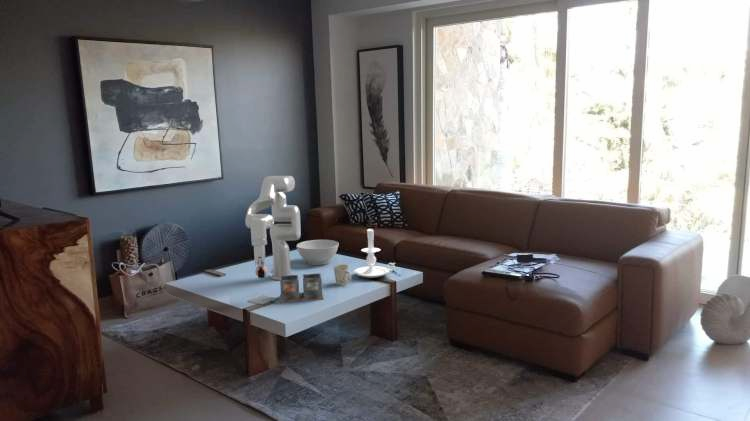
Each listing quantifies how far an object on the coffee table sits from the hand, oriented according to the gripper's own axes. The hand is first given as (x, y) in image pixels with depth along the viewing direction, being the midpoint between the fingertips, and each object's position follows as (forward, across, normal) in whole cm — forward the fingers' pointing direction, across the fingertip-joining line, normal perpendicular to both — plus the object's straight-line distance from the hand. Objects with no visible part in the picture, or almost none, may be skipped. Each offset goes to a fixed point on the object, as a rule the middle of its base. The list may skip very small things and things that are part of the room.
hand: (261, 275), depth 302 cm
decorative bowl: (+15, -70, +32) cm, 78 cm away
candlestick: (+14, -30, +63) cm, 71 cm away
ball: (-2, 0, 0) cm, 2 cm away
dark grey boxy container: (+13, +1, +20) cm, 24 cm away
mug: (+14, -18, +44) cm, 49 cm away
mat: (+13, +1, 0) cm, 13 cm away
